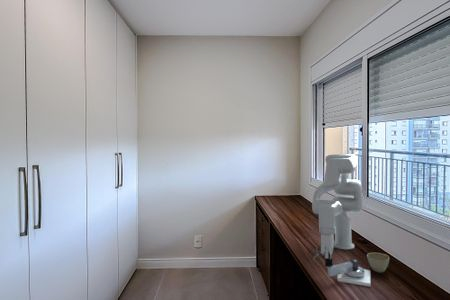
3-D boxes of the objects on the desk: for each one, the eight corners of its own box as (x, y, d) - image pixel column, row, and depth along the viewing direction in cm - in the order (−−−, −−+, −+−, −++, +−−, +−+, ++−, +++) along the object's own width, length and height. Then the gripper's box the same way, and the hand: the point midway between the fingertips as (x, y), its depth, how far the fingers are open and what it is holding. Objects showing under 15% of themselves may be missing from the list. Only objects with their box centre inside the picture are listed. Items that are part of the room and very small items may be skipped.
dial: (354, 267, 144) (353, 255, 144) (368, 275, 136) (368, 262, 136) (323, 275, 137) (322, 262, 137) (336, 284, 129) (335, 270, 129)
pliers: (315, 262, 155) (305, 248, 175) (315, 264, 155) (305, 250, 175) (333, 261, 155) (320, 247, 175) (333, 263, 155) (320, 249, 175)
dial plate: (340, 268, 148) (340, 265, 148) (370, 273, 142) (370, 269, 141) (337, 281, 135) (337, 277, 135) (370, 286, 129) (370, 282, 129)
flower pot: (368, 264, 151) (367, 251, 151) (389, 268, 146) (389, 254, 146) (366, 272, 142) (366, 258, 142) (389, 276, 137) (389, 261, 137)
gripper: (321, 224, 146) (323, 258, 147) (316, 233, 133) (318, 271, 134) (337, 225, 143) (338, 260, 144) (333, 235, 130) (335, 274, 131)
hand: (328, 266), depth 139 cm, fingers closed
